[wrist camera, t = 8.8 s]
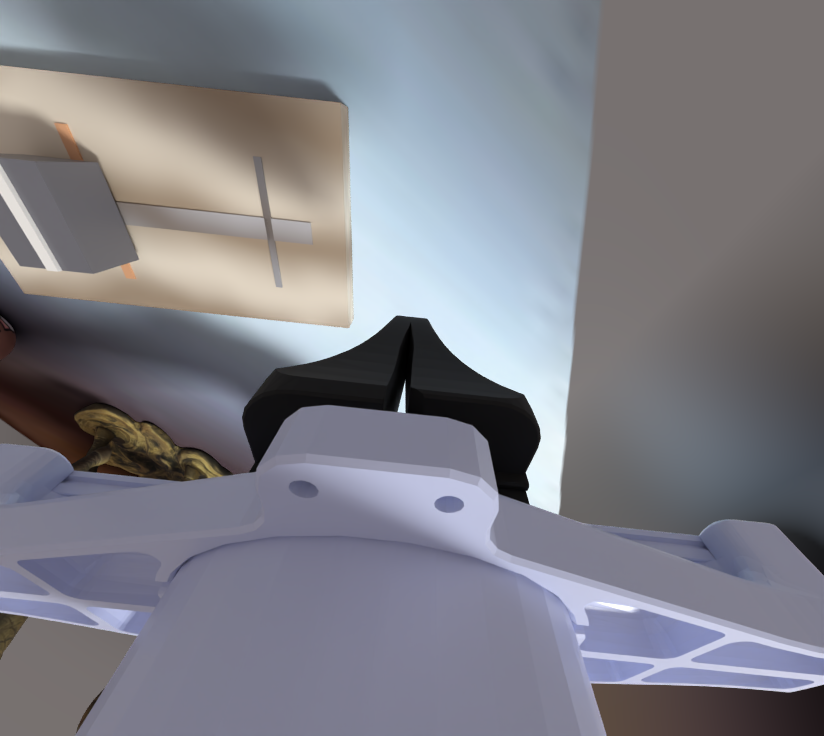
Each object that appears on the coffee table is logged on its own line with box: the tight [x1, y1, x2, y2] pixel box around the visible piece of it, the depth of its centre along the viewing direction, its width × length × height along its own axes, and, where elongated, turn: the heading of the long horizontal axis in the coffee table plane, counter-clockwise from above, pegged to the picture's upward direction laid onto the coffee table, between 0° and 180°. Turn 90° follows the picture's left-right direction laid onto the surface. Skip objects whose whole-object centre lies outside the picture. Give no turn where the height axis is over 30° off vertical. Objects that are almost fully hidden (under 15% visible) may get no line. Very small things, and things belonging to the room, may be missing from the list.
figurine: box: [0, 403, 233, 733], centre depth 27 cm, size 13×25×20 cm, turn 20°
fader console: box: [0, 65, 354, 328], centre depth 18 cm, size 12×23×2 cm, turn 85°
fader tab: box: [0, 153, 139, 274], centre depth 16 cm, size 5×4×3 cm
